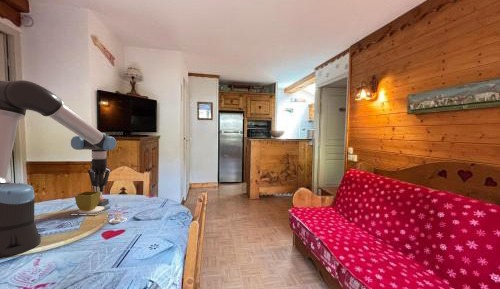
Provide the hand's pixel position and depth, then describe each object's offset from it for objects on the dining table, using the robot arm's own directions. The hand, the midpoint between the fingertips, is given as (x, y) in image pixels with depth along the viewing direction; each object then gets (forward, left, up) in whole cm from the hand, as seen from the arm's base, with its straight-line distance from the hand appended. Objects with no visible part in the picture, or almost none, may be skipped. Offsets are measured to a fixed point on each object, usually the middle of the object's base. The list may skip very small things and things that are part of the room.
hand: (99, 197), depth 140 cm
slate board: (-12, -3, -5) cm, 13 cm away
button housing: (0, 0, -5) cm, 5 cm away
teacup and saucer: (-26, -22, -6) cm, 35 cm away
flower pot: (-12, -1, -4) cm, 12 cm away
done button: (0, 0, -3) cm, 3 cm away
